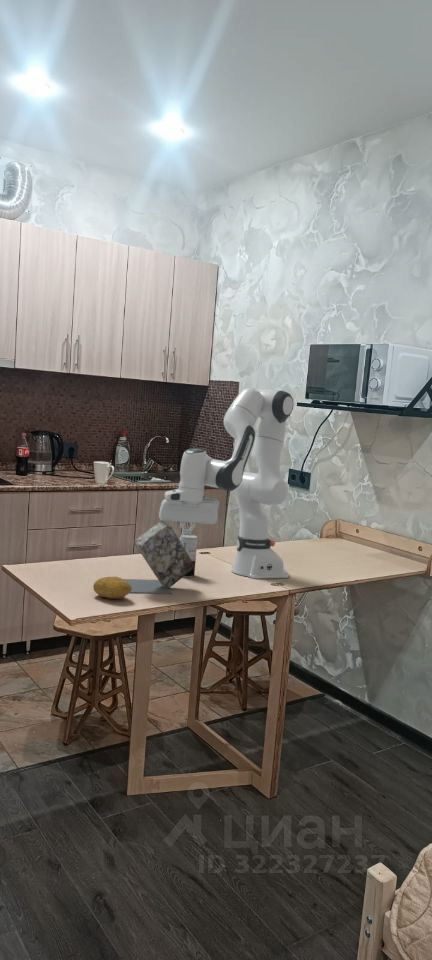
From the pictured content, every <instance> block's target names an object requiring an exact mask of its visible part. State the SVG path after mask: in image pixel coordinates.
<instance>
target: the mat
mask: <svg viewBox="0 0 432 960" xmlns="http://www.w3.org/2000/svg"><path fill="white" fill-rule="evenodd" d="M122 579H123V580H125V581H127V582H128V583H129V584H130V585H131V587H132V590H131V591H130V593H129V594H147V595H148V594H153V595H154V594H157V595H158V594H159V595H163V594H164V595H172V594H173V592H172V590H171V589H170V588H168V589H167V588H165V587H164V586H162V584H161V583H160V582H159V580H158V579H140V578H136V579H135V578H133V579H132V578H122Z"/></svg>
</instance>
